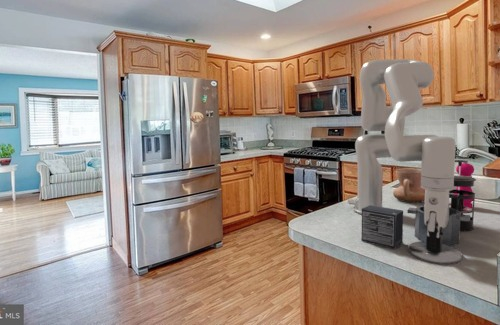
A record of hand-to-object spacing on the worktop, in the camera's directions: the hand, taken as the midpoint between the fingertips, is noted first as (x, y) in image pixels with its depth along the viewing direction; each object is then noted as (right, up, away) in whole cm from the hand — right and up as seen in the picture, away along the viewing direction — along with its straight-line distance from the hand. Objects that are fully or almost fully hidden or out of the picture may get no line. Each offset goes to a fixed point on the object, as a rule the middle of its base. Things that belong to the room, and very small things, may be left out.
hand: (434, 247), depth 83 cm
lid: (0, -2, 0) cm, 2 cm away
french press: (+20, +1, +20) cm, 28 cm away
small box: (-10, -1, +10) cm, 14 cm away
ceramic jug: (+22, +6, +55) cm, 60 cm away
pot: (+7, 0, +11) cm, 13 cm away
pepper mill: (+37, +5, +42) cm, 56 cm away
